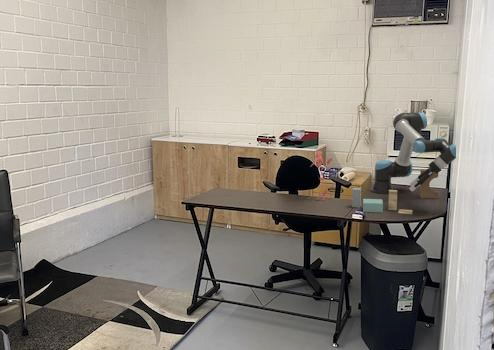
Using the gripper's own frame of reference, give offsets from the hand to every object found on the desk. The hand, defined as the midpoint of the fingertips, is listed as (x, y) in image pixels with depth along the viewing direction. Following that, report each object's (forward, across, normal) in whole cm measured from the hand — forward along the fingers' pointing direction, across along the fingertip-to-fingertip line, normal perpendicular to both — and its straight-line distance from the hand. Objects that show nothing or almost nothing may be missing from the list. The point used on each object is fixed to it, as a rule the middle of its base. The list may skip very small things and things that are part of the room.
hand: (410, 187), depth 291 cm
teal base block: (+26, -5, +6) cm, 27 cm away
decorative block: (+2, +39, -18) cm, 43 cm away
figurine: (+54, +18, +34) cm, 67 cm away
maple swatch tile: (+12, -6, -8) cm, 16 cm away
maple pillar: (+18, 0, -3) cm, 18 cm away
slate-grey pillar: (+34, +1, +14) cm, 37 cm away
